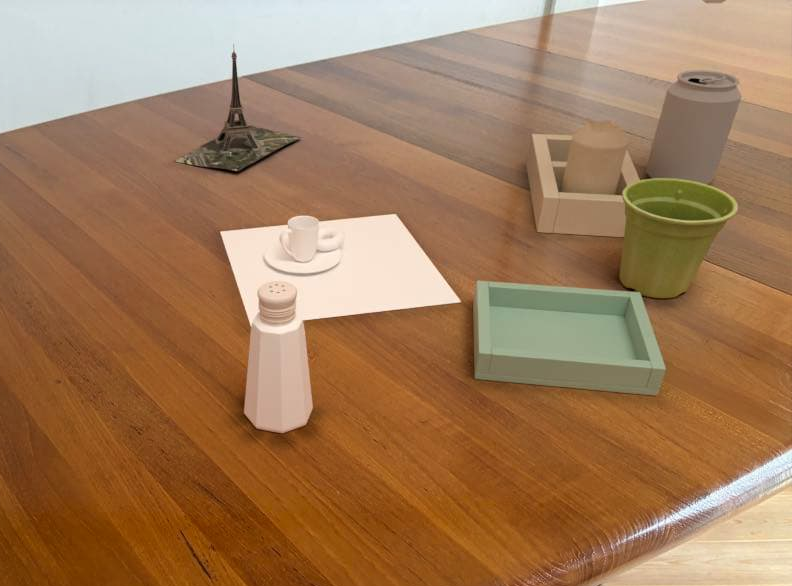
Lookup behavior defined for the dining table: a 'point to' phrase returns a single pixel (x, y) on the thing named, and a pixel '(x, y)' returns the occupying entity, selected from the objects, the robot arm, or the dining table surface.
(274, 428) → the pepper shaker
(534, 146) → the holder
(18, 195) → the dining table surface
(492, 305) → the tray
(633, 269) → the plant pot
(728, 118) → the can
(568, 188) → the candle
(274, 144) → the eiffel tower figurine
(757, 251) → the dining table surface
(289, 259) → the teacup and saucer
